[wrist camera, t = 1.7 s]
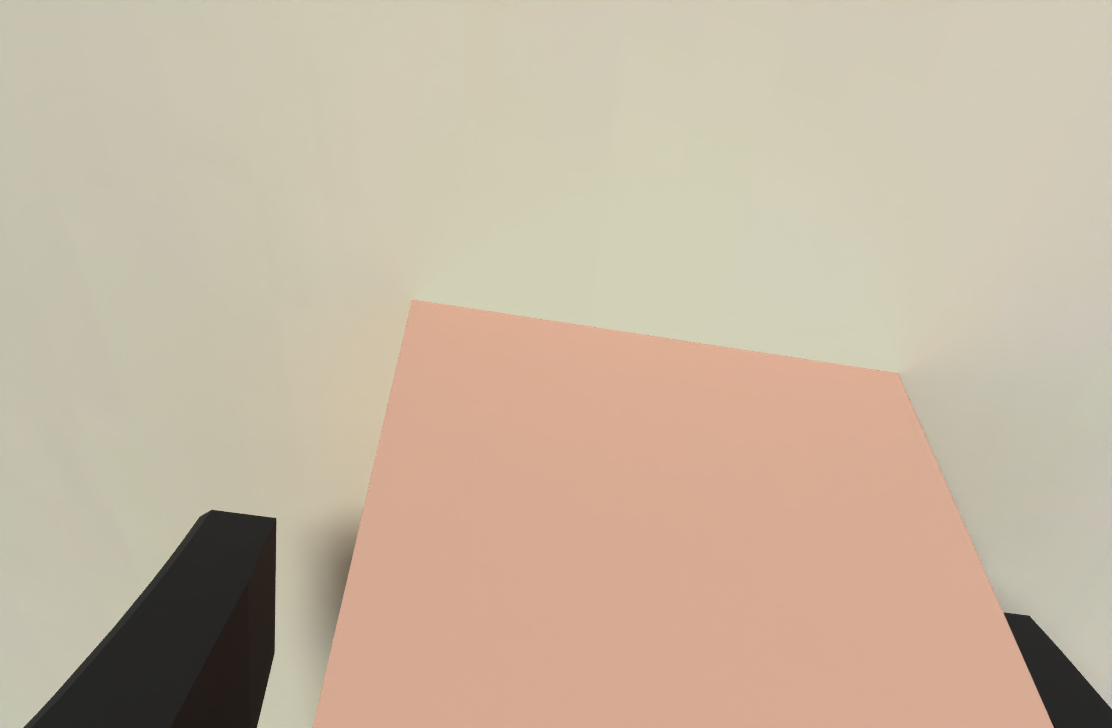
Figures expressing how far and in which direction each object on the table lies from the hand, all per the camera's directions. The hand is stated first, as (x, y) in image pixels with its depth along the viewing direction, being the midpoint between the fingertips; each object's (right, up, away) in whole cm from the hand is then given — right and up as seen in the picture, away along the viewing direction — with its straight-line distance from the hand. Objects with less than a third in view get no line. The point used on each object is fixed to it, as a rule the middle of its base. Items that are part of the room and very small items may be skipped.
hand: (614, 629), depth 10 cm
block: (0, +1, +1) cm, 2 cm away
